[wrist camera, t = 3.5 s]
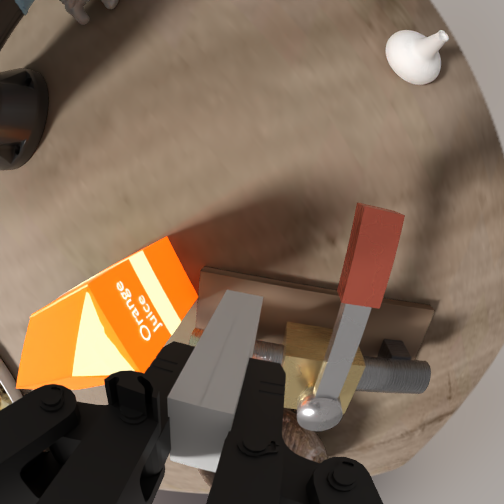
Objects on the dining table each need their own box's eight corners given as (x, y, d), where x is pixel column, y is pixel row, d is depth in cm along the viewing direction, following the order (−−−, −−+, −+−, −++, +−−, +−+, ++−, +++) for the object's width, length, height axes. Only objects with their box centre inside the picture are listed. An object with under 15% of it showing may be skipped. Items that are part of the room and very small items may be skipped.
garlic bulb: (370, 46, 24) (392, 14, 16) (412, 31, 22) (439, 1, 15) (403, 95, 25) (435, 75, 17) (442, 77, 23) (478, 58, 16)
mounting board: (204, 266, 32) (200, 270, 31) (429, 304, 30) (434, 310, 29) (196, 357, 35) (193, 363, 34) (395, 385, 33) (398, 392, 32)
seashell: (361, 454, 27) (268, 543, 20) (330, 466, 39) (265, 526, 32) (266, 376, 35) (172, 450, 28) (263, 410, 47) (198, 463, 40)
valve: (206, 299, 31) (178, 344, 23) (418, 332, 29) (449, 380, 21) (202, 345, 33) (177, 396, 24) (400, 374, 31) (421, 425, 23)
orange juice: (110, 264, 34) (-14, 344, 14) (167, 234, 32) (33, 316, 12) (141, 320, 35) (44, 428, 16) (199, 298, 33) (111, 428, 14)
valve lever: (349, 200, 18) (356, 204, 16) (400, 212, 18) (411, 217, 16) (292, 412, 23) (292, 428, 21) (332, 416, 23) (334, 432, 21)
